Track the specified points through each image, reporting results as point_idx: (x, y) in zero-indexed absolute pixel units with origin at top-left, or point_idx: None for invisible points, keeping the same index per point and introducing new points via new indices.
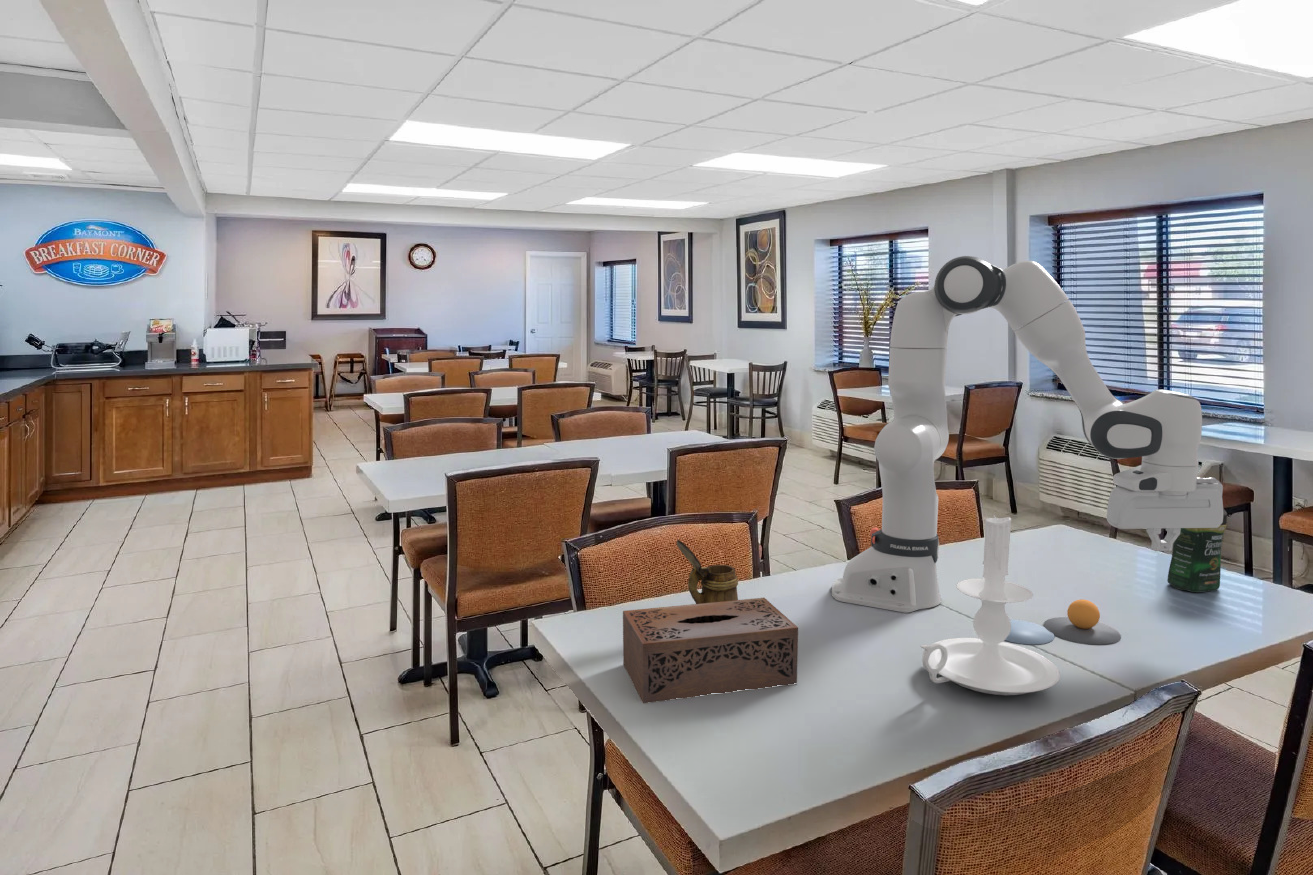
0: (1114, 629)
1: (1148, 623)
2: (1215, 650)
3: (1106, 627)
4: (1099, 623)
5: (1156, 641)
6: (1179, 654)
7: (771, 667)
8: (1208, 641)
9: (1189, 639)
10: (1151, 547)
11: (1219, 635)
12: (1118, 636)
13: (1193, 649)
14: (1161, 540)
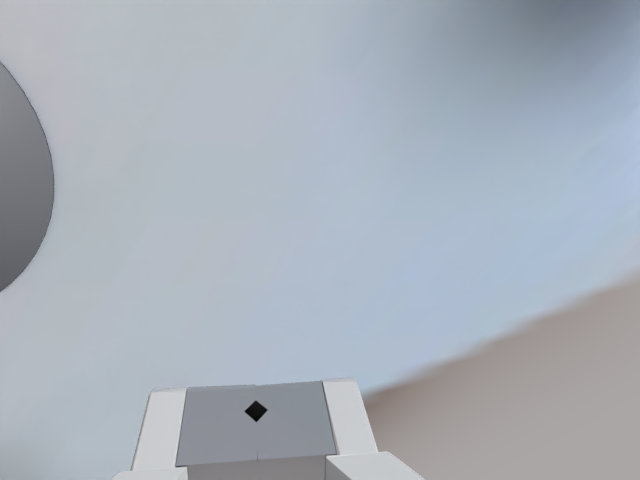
0: (47, 165)
1: (273, 79)
2: (355, 355)
3: (17, 138)
4: (2, 83)
5: (181, 281)
6: None
7: None
8: (393, 281)
9: (332, 262)
10: (148, 400)
11: (484, 224)
12: (28, 245)
13: (280, 349)
14: (277, 475)
